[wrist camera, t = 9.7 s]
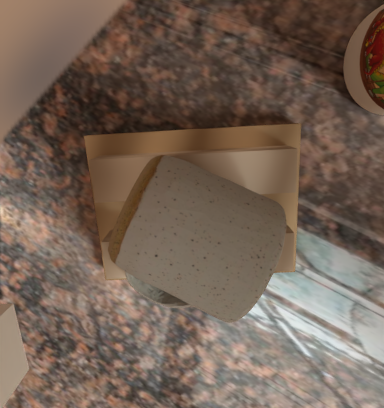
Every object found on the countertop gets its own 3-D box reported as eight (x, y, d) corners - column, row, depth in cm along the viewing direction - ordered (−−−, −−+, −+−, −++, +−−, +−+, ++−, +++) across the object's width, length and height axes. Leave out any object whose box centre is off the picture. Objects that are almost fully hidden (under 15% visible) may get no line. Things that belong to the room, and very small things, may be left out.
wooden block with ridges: (294, 123, 23) (314, 124, 20) (289, 263, 27) (305, 287, 23) (90, 134, 24) (70, 138, 20) (110, 271, 27) (96, 297, 23)
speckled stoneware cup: (160, 140, 20) (138, 156, 13) (270, 190, 21) (309, 232, 13) (107, 270, 23) (63, 345, 15) (205, 309, 24) (208, 398, 16)
